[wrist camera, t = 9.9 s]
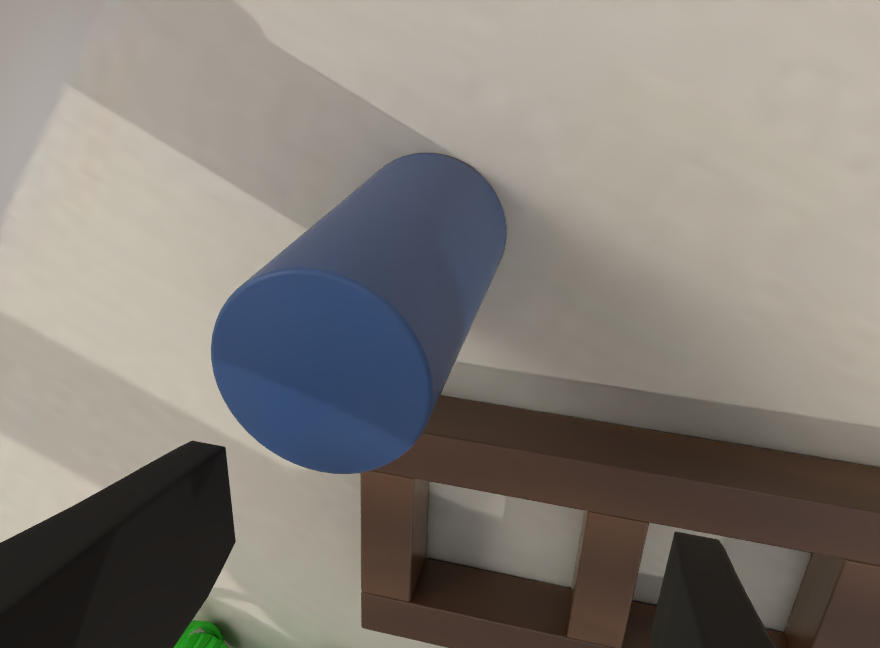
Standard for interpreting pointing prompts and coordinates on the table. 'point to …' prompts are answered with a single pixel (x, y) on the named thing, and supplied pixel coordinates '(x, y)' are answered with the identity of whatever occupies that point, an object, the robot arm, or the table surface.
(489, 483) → the peg board
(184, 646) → the chandelier
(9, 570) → the robot arm
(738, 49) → the table surface
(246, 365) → the peg
